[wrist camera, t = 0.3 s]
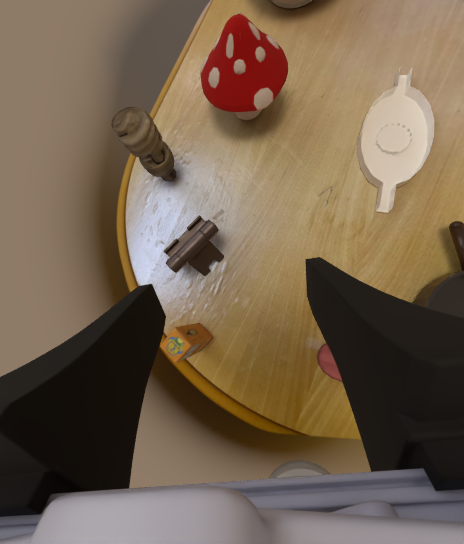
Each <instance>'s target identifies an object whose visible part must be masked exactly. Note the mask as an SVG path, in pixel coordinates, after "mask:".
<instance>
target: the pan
mask: <svg viewBox="0 0 464 544" xmlns="http://www.w3.org/2000/svg"><path fill="white" fill-rule="evenodd" d="M413 304H416V305H419V306H422V307H425V308H428V309H432V310H435V311H439V312H442V313H446V314H450V315H454V316H458V317H462V318H464V270H462V271H458V272H454V273H450V274H448V275H445V276H442V277H440V278H438V279H436V280H434V281H432V282H431V283H429V284H428V285H427V286H426V287H424V288H423V289H422V290H421V292H420V293H419V294H418V296H417V297H416V299H415V300H414V303H413Z"/></svg>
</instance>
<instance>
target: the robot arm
mask: <svg viewBox="0 0 464 544" xmlns="http://www.w3.org/2000/svg"><path fill="white" fill-rule="evenodd" d="M306 281H307V297H308V300H309V304H310V307H311V310H312V313H313V316H314V318H315V320H316V322H317V324H318V326H319V328H320V330H321V333H322V335H323V337H324V339H325V341H326V343H327V345H328V347H329V349H330V351H331V353H332V356H333V358H334V360H335V363H336V365H337V368H338V370H339V373H340V376H341V379H342V382H343V384H344V387H345V390H346V393H347V396H348V399H349V402H350V405H351V408H352V411H353V414H354V417H355V420H356V423H357V426H358V430H359V433H360V436H361V439H362V442H363V445H364V449H365V451H366V455H367V458H368V461H369V465H370V468H371V472H363V473H348V474H333V475H318V476H304V477H289V478H275V479H261V480H246V481H231V482H217V483H202V484H187V485H173V486H159V487H144V488H129V484H130V476H131V468H132V460H133V453H134V447H135V441H136V440H135V439H136V434H137V428H138V423H139V418H140V413H141V407H142V403H143V398H144V393H145V389H146V385H147V381H148V378H149V375H150V372H151V369H152V366H153V363H154V360H155V357H156V354H157V351H158V348H159V345H160V342H161V339H162V336H163V331H164V326H165V319H166V316H165V313H164V311H163V309H162V306H161V304H160V302H159V299H158V297H157V295H156V292H155V290H154V288H153V286H152V284H149V285H142V286H139V287H137V288H136V289H134V290H133V291H132V292H130V293H129V294H128V295H127V296H125V297H124V298H123V299H122V300H120V301H119V302H118V303H117V304H115V305H114V306H113V307H112V308H111V309H109V310H108V311H107V312H106V313H104V314H103V315H102V316H100V317H99V318H98V319H97V320H95V321H94V322H93V323H91V324H90V325H89V326H87V327H86V328H85V329H83V330H82V331H80V332H79V333H77V334H76V335H74V336H73V337H72V338H70V339H68V340H67V341H65V342H64V343H62V344H61V345H59V346H57V347H56V348H54V349H52V350H51V351H49V352H47V353H45V354H44V355H42V356H40V357H38V358H36V359H35V360H33V361H31V362H29V363H27V364H25V365H23V366H22V367H20V368H18V369H16V370H14V371H12V372H10V373H8V374H6V375H3V376H1V377H0V544H464V318H462V317H458V316H454V315H450V314H446V313H442V312H439V311H435V310H432V309H428V308H425V307H422V306H419V305H416V304H413V303H410V302H407V301H404V300H402V299H399V298H396V297H394V296H392V295H389V294H387V293H384V292H382V291H380V290H377V289H375V288H373V287H371V286H369V285H367V284H365V283H363V282H361V281H359V280H357V279H355V278H354V277H352V276H350V275H348V274H347V273H345V272H343V271H342V270H340V269H338V268H337V267H335V266H333V265H332V264H330V263H329V262H327V261H325V260H324V259H322V258H320V257H318V258H312V259H306Z"/></svg>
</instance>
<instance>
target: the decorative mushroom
mask: <svg viewBox="0 0 464 544" xmlns="http://www.w3.org/2000/svg"><path fill="white" fill-rule="evenodd" d="M287 74H288V62H287V59H286V56H285V54H284V52H283V50H282V48H281V47H280V46H279V45H278V43H277V42H276V41H275V39H274V38H273V37H271V36H268V35H266V34H265V33H263V32H261V31H260V30H258V29H257V28H256V27H255V26H254V25H253V23H252V22H251V21H250V20H248V19H247V18H246V17H245V16H244V15H243V14H241V13H240V14H237V15H234V16H232V17H231V18H230V19H229V20H228V21H227V23H226V24H225V27H224V29H223V31H222V34H221V37H219V38H217V40H216V41H215V44H214V48H213V50H212V51H211V53H210V54H209V55H208V56H207V57H206V58H205V60H204V62H203V64H202V67H201V82H202V88H203V92H204V95H205V96H206V98H207V99H208V101H209V102H210V103H211V104H213V105H214V106H215V107H217V108H219V109H221V110H224V111H229V112H234V113H235V115H236V116H237V117H238V118H239V119H242V120H250V119H253V118H255V117H257V116H258V115H259V114H260V112H261V111H262V109H263V108H266V107H267V106H268V105H269V104H270V103H271V102H272V101H273V100H274V99H275V98H276V96H277V95H278V93H279V92H280V90H281V89H282V87H283V85H284V83H285V81H286V78H287Z"/></svg>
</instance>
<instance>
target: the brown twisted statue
mask: <svg viewBox="0 0 464 544" xmlns="http://www.w3.org/2000/svg"><path fill="white" fill-rule="evenodd" d="M112 128H113V130H114V131H115V132H117V135H118V139H119V141H120V142H121V143H122V144H124V145H125V147H126V148H127V149H128V150H129V151H131V153H132V154H133V155H134V156H136V157H139V159H140V162H141V164H142V165H143V167H144V168H145V169H146V170H147V171H148V172H149V173H150V174H152V175H153V176H156V177H162V178H163V180H165V181H173V180H174V179H175V178H176V171H175V169H174V168H173V167H174V157H173V154H172V152H171V150H170V148H169V147H168V145H167V144H166V143H165V142H163V141H162V136H161V134H160V133H159V131H158V129H157V127H156V125H155V124H154V122H153V119H152V118H151V116H150V115H149V114H148V113H147V112H146V111H144V110H143V109H141V108H137V107H128V108H125V109H123V110H121V111H119V112H118V113H117V114H116V115H115V116H114V118H113V120H112Z"/></svg>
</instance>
